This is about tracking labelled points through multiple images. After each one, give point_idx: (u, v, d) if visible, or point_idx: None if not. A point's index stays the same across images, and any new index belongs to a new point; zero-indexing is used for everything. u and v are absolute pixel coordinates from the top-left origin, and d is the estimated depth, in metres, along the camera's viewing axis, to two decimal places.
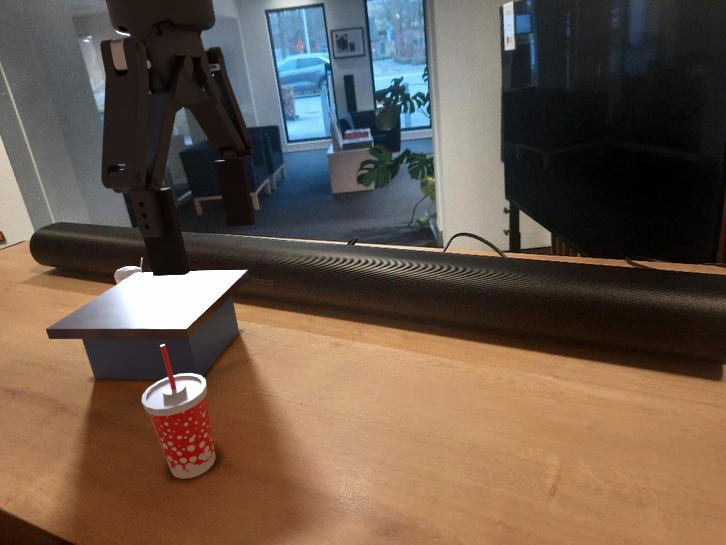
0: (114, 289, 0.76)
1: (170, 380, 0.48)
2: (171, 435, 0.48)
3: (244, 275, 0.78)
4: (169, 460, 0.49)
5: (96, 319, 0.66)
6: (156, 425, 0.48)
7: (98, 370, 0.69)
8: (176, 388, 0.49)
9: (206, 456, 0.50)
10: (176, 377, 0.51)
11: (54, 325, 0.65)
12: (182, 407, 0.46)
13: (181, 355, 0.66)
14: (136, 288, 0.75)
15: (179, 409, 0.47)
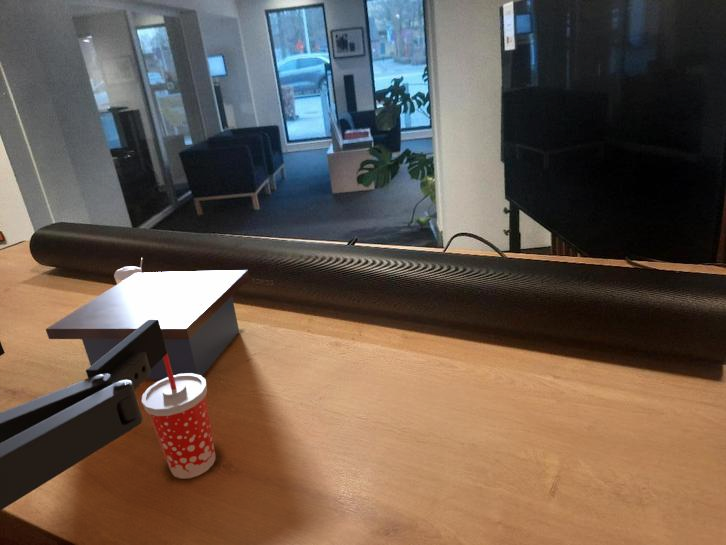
0: (114, 289, 0.76)
1: (170, 380, 0.48)
2: (171, 435, 0.48)
3: (244, 275, 0.78)
4: (169, 460, 0.49)
5: (96, 319, 0.66)
6: (156, 425, 0.48)
7: None
8: (176, 388, 0.49)
9: (206, 456, 0.50)
10: (176, 377, 0.51)
11: (54, 325, 0.65)
12: (182, 407, 0.46)
13: (181, 355, 0.66)
14: (136, 288, 0.75)
15: (179, 409, 0.47)
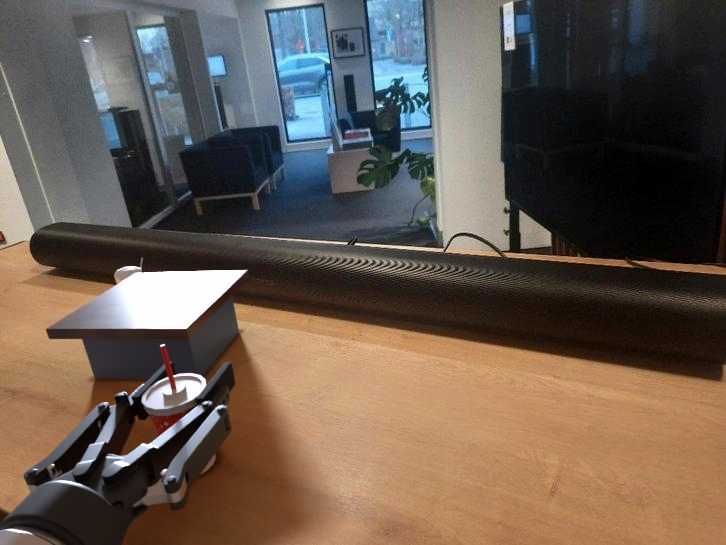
0: (114, 289, 0.76)
1: (170, 380, 0.48)
2: None
3: (244, 275, 0.78)
4: None
5: (96, 319, 0.66)
6: (156, 425, 0.48)
7: (98, 370, 0.69)
8: (176, 388, 0.49)
9: None
10: (176, 377, 0.51)
11: (54, 325, 0.65)
12: (182, 407, 0.46)
13: (181, 355, 0.66)
14: (136, 288, 0.75)
15: (179, 409, 0.47)
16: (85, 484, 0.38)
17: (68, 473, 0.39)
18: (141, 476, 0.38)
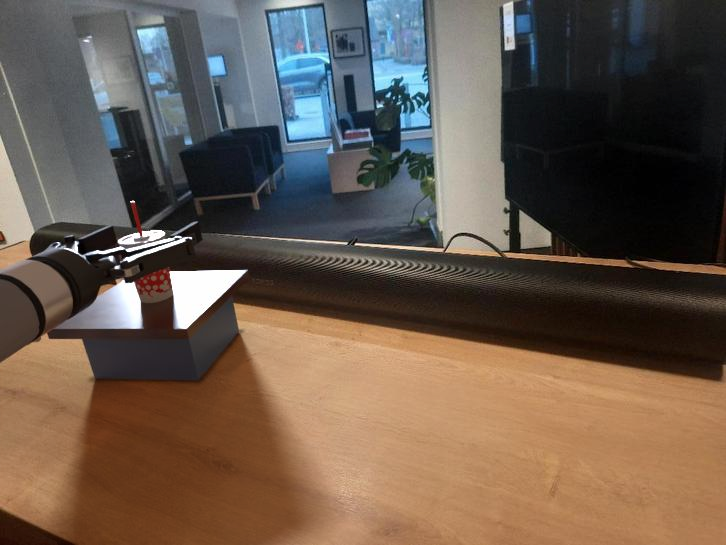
0: (114, 289, 0.76)
1: (138, 228, 0.68)
2: None
3: (244, 275, 0.78)
4: (138, 288, 0.69)
5: (96, 319, 0.66)
6: None
7: (98, 370, 0.69)
8: (143, 235, 0.68)
9: (165, 288, 0.70)
10: (144, 232, 0.71)
11: None
12: (146, 243, 0.66)
13: (181, 355, 0.66)
14: None
15: None
16: None
17: None
18: (111, 259, 0.58)
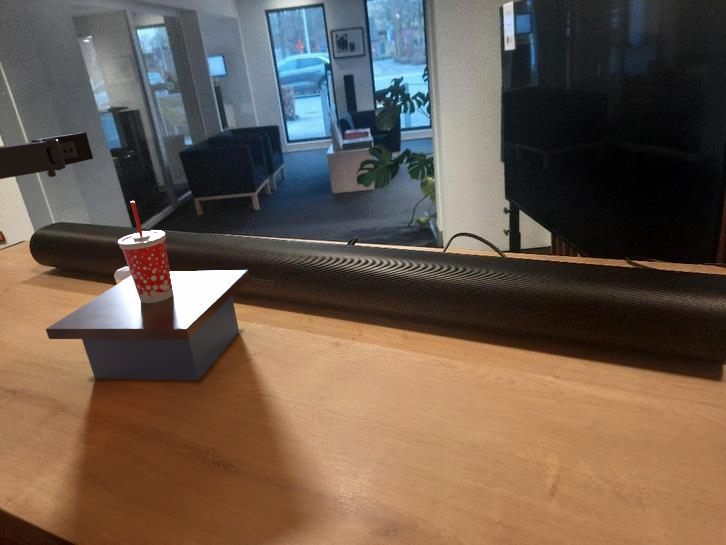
0: (114, 289, 0.76)
1: (138, 228, 0.68)
2: (139, 266, 0.67)
3: (244, 275, 0.78)
4: (138, 288, 0.69)
5: (96, 319, 0.66)
6: (128, 259, 0.67)
7: (98, 370, 0.69)
8: (143, 235, 0.68)
9: (165, 288, 0.70)
10: (144, 232, 0.71)
11: (54, 325, 0.65)
12: (146, 243, 0.66)
13: (181, 355, 0.66)
14: None
15: (144, 245, 0.66)
16: None
17: None
18: None
